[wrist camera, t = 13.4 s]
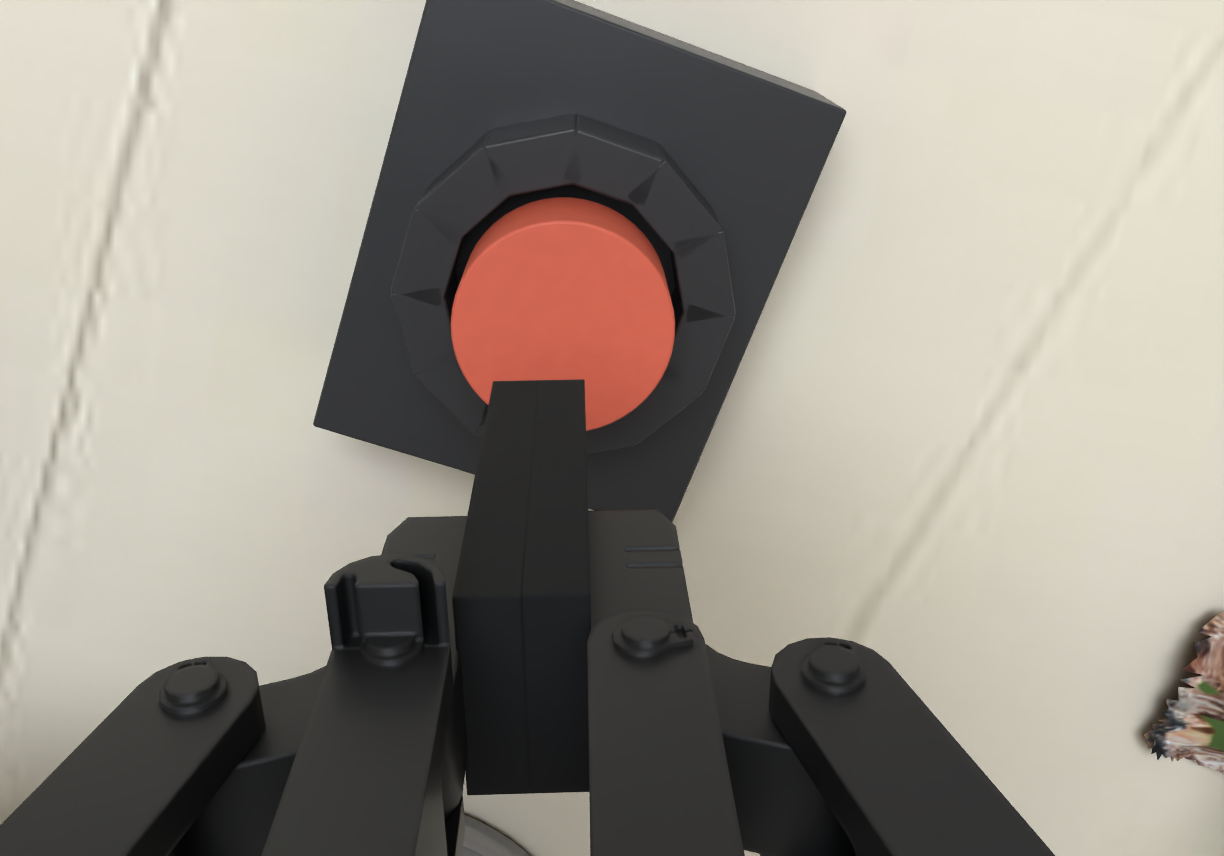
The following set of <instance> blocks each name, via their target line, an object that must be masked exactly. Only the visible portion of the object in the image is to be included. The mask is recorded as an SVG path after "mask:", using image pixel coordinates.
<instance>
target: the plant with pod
mask: <svg viewBox="0 0 1224 856" xmlns="http://www.w3.org/2000/svg"><path fill="white" fill-rule="evenodd" d="M1198 632H1199V633H1202V634H1205V635H1208V636H1211V638H1208V639H1205V640H1202V641H1199V642H1196V643H1193V645H1194V648H1195V651H1196V654H1197V658H1196V659H1195V660H1194V661H1192V662H1191V663H1190V664H1189V665H1188V666H1186V667H1185V668H1184V669H1183V670H1184V671H1189V672H1193V673H1197V674H1201V675H1203V676H1197V677H1192V678H1186V679H1180V680H1181V681H1183V682H1185V683H1187V684H1189V685H1191V686H1193V687H1194V688H1184V687H1178V695H1179V701H1177V700H1171V699H1166V702H1167V705H1168V708H1169V709H1168V710H1166V711H1164V712H1163V713H1164V714H1165V715H1166V716H1167V717H1168V718H1167V719H1163V720H1159V721H1160V722H1162V723H1164V724H1152V725H1153V728H1154V729H1152V730H1151V731H1149V732H1148V733H1146V734H1144V737H1145V739H1146V742H1147V745H1148V748H1152V753H1151V754H1153V753H1155V752H1156V754H1157V760H1158V759H1159V758H1160V756H1161V755H1162V754H1163V756H1164V757H1165V758H1167V757H1169V756H1171V760H1172V761H1173V758H1174V757H1175V758H1176V760H1177V761H1178V760H1180V759H1181V758H1183V757H1185V758H1186V759H1190V760H1196V762H1197V763H1198V765H1202V766H1207V767H1209V768H1212V769H1214V770H1217V771H1220V772H1222V773H1223V774H1224V613H1222V612H1220V613H1219V614H1218V615H1217V616H1215V617H1214V618H1213V619H1212V620H1210V621H1209V622H1208V623H1207V624H1206V625H1205V626H1204V627H1203V628H1201V629H1200V630H1199V631H1198Z"/></svg>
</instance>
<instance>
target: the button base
mask: <svg viewBox="0 0 1224 856" xmlns="http://www.w3.org/2000/svg"><path fill="white" fill-rule="evenodd" d="M845 115H846V110H845V109H843V108H841V107H840V106H838V105H837V104H835V103H833V102H832V101H830V100H828V99H827V98H825V97H824V96H822V95H820V94H819V93H817V92H815V91H813V90H810V89H808V88H805V87H802V86H800V85H797V84H794V83H792V82H789V81H786V80H784V79H781V78H779V77H776V76H773V75H771V74H768V73H765V72H763V71H760V70H757V69H755V68H752V67H749V66H747V65H744V64H741V63H739V62H736V61H733V60H731V59H728V58H725V57H723V56H720V55H717V54H715V53H712V52H709V51H707V50H704V49H702V48H699V47H696V46H694V45H691V44H688V43H686V42H683V41H680V40H678V39H675V38H672V37H670V36H667V35H664V34H662V33H659V32H656V31H654V30H651V29H648V28H646V27H643V26H640V25H638V24H635V23H632V22H630V21H627V20H625V19H622V18H619V17H617V16H614V15H611V14H609V13H606V12H603V11H601V10H598V9H595V8H593V7H590V6H587V5H585V4H582V3H579V2H577V1H574V0H426V4H425V8H424V11H423V15H422V19H421V22H420V26H419V30H418V34H417V37H416V41H415V45H414V49H413V52H412V56H411V60H410V64H409V67H408V71H407V75H406V79H405V82H404V86H403V90H402V94H401V97H400V101H399V105H398V109H397V112H396V116H395V120H394V123H393V127H392V131H391V135H390V138H389V142H388V146H387V150H386V153H385V157H384V161H383V165H382V168H381V172H380V176H379V180H378V183H377V187H376V191H375V195H374V198H373V202H372V206H371V209H370V213H369V217H368V221H367V224H366V228H365V232H364V236H363V239H362V243H361V247H360V251H359V254H358V258H357V262H356V266H355V269H354V273H353V277H352V281H351V284H350V288H349V292H348V295H347V299H346V303H345V307H344V310H343V314H342V318H341V322H340V325H339V329H338V333H337V337H336V340H335V344H334V348H333V352H332V355H331V359H330V363H329V367H328V370H327V374H326V378H325V381H324V385H323V389H322V393H321V396H320V400H319V404H318V408H317V411H316V415H315V419H314V423H313V424H314V426H316V427H319V428H322V429H326V430H329V431H332V432H336V433H339V434H342V435H346V436H349V437H352V438H356V439H359V440H362V441H366V442H369V443H372V444H376V445H379V446H382V447H385V448H389V449H392V450H395V451H399V452H402V453H405V454H409V455H412V456H415V457H419V458H422V459H425V460H429V461H432V462H435V463H439V464H442V465H445V466H449V467H452V468H455V469H459V470H462V471H465V472H469V473H472V474H475V473H476V468H477V463H478V458H479V452H480V447H481V442H482V436H483V431H484V426H485V421H486V415H487V410H488V404H486V403H485V402H484V401H483V400H482V399H481V398H480V397H479V396H478V395H477V393H476V392H475V391H474V390H473V389H472V387H471V386H470V384H469V383H468V381H467V380H466V378H465V377H464V375H463V373H462V371H461V369H460V367H459V365H458V362H457V359H456V356H455V353H454V349H453V343H452V338H451V315H452V307H453V303H454V298H455V295H456V292H457V289H458V286H459V284H460V281H461V278H462V275H463V273H464V270H465V267H466V264H467V262H468V259H469V257H470V254H471V253H472V251H473V249H474V247H475V245H476V244H477V242H478V241H479V240H480V238H481V237H482V236H483V234H484V233H485V232H486V231H487V230H488V229H489V228H490V227H491V226H492V225H493V224H494V223H495V222H496V221H498V220H499V219H500V218H501V217H503V216H504V215H505V214H507V213H509V212H511V211H512V210H514V209H516V208H518V207H520V206H523V205H525V204H528V203H530V202H534V201H538V200H542V199H548V198H556V197H571V198H579V199H585V200H589V201H593V202H596V203H600V204H602V205H604V206H607V207H609V208H611V209H613V210H615V211H617V212H618V213H620V214H622V215H623V216H625V217H626V218H627V219H628V220H630V221H631V222H632V223H634V224H635V225H636V226H637V227H638V228H639V229H640V230H641V231H642V232H643V233H644V235H645V236H646V237H647V239H648V240H649V241H650V243H651V244H652V246H653V247H654V249H655V251H656V253H657V255H658V256H659V259H660V261H661V264H662V267H663V269H664V273H665V277H666V281H667V285H668V289H669V293H670V297H671V301H672V305H673V309H674V318H675V339H674V344H673V350H672V354H671V357H670V360H669V363H668V366H667V368H666V370H665V372H664V374H663V376H662V378H661V380H660V381H659V383H658V384H657V386H656V387H655V389H654V390H653V391H652V392H651V394H650V395H649V396H648V397H647V398H646V399H645V400H644V401H643V402H642V403H641V404H640V405H639V406H638V407H637V408H635V409H634V410H633V411H631V412H630V413H628V414H627V415H625V416H624V417H622V418H620V419H618V420H616V421H614V422H613V423H610V424H608V425H605V426H602V427H600V428H596V429H592V430H588V431H586V450H587V488H588V509H592V510H595V511H601V510H645V509H658V510H659V511H660V512H661V513H662V514H663V515H665V516H666V517H667V518H668V519H669V520H670V521H671V522H673V520H674V517H675V515H676V513H677V510H678V508H679V506H680V503H681V501H682V499H683V496H684V494H685V492H686V489H687V487H688V485H689V482H690V480H691V477H692V475H693V473H694V470H695V468H696V466H697V463H698V461H699V459H700V456H701V454H702V452H703V449H704V447H705V444H706V442H707V440H708V437H709V435H710V433H711V430H712V428H713V426H714V423H715V421H716V419H717V416H718V414H719V412H720V409H721V407H722V404H723V402H724V400H725V397H726V395H727V393H728V390H729V388H730V386H731V383H732V381H733V379H734V376H735V374H736V371H737V369H738V367H739V364H740V362H741V360H742V357H743V355H744V353H745V350H746V348H747V346H748V343H749V341H750V339H751V336H752V334H753V331H754V329H755V327H756V324H757V322H758V320H759V317H760V315H761V313H762V310H763V308H764V306H765V303H766V301H767V298H768V296H769V294H770V291H771V289H772V287H773V284H774V282H775V280H776V277H777V275H778V273H779V270H780V268H781V266H782V263H783V261H784V258H785V256H786V254H787V251H788V249H789V247H790V244H791V242H792V240H793V237H794V235H795V233H796V230H797V228H798V225H799V223H800V221H801V218H802V216H803V214H804V211H805V209H806V207H807V204H808V202H809V200H810V197H811V195H812V193H813V190H814V188H815V185H816V183H817V181H818V178H819V176H820V174H821V171H822V169H823V167H824V164H825V162H826V160H827V157H828V155H829V152H830V150H831V148H832V145H833V143H834V141H835V138H836V136H837V134H838V131H839V129H840V127H841V124H842V122H843V120H844V117H845Z"/></svg>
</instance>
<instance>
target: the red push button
mask: <svg viewBox="0 0 1224 856" xmlns="http://www.w3.org/2000/svg"><path fill="white" fill-rule="evenodd" d="M451 338H452V343H453V349H454V353H455V356H456V359H457V362H458V365H459V367H460V369H461V371H462V373H463V375H464V377H465V378H466V380H467V381H468V383H469V384H470V386H471V387H472V389H473V390H474V391H475V392H476V393H477V395H478V396H479V397H480V398H481V399H482V400H483V401H484V402H485V403H486V404H488V405H489V400H490V394H491V389H492V384H493V381H526V380H578V379H585V412H586V431H588V430H592V429H596V428H600V427H602V426H605V425H608V424H610V423H613V422H614V421H616V420H618V419H620V418H622V417H624V416H625V415H627V414H628V413H630V412H631V411H633V410H634V409H635V408H637V407H638V406H639V405H640V404H641V403H642V402H643V401H644V400H645V399H646V398H647V397H648V396H649V395H650V394H651V392H652V391H653V390H654V389H655V387H656V386H657V384H658V383H659V381H660V380H661V378H662V376H663V374H664V372H665V370H666V368H667V366H668V363H669V360H670V357H671V354H672V350H673V344H674V339H675V318H674V309H673V305H672V301H671V297H670V293H669V289H668V285H667V281H666V277H665V273H664V269H663V267H662V264H661V261H660V259H659V256H658V255H657V253H656V251H655V249H654V247H653V246H652V244H651V243H650V241H649V240H648V239H647V237H646V236H645V235H644V233H643V232H642V231H641V230H640V229H639V228H638V227H637V226H636V225H635V224H634V223H632V222H631V221H630V220H628V219H627V218H626V217H625V216H623V215H622V214H620V213H618V212H617V211H615V210H613V209H611V208H609V207H607V206H604V205H602V204H600V203H596V202H593V201H589V200H585V199H579V198H571V197H556V198H548V199H542V200H538V201H534V202H530V203H528V204H525V205H523V206H520V207H518V208H516V209H514V210H512V211H511V212H509V213H507V214H505V215H504V216H503V217H501V218H500V219H499V220H498V221H496V222H495V223H494V224H493V225H492V226H491V227H490V228H489V229H488V230H487V231H486V232H485V233H484V234H483V236H482V237H481V238H480V240H479V241H478V242H477V244H476V245H475V247H474V249H473V251H472V253H471V254H470V257H469V259H468V262H467V264H466V267H465V270H464V273H463V275H462V278H461V281H460V284H459V286H458V289H457V292H456V295H455V298H454V303H453V307H452V315H451Z"/></svg>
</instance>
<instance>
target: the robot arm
mask: <svg viewBox="0 0 1224 856" xmlns="http://www.w3.org/2000/svg"><path fill="white" fill-rule="evenodd" d="M324 590H325V598H326V605H327V613H328V621H329V628H330V636H331V643H332V651H331V654H330V657H329V660H328V663H327V666H325V667H322V668H320V669H318V670H316V671H314V672H312V673H309V674H306V675H302V676H299V677H296V678H292V679H288V680H283V681H279V682H275V683H270V684H266V685H261V686H259V683H258V678H257V672H256V671H255V670H254V669H252V668H251V667H250V666H249V665H248V664H247V663H246V662H243V661H239V660H236V659H232V658H229V657H201V658H194V659H192V660H191V659H189V660H185V661H182V662H178V663H176V664H174V665H171V666H169V667H167V668H164V669H162V670H160V671H158V672H156V673H154V674H153V675H152V676H150V677H149V678H148V679H146V680H145V681H144V682H142V683H141V684H140V685H138V686H137V687H136V688H135V689H134V690H133V691H132V692H131V693H130V694H129V695H128V696H127V697H126V698H125V699H124V700H123V701H122V702H121V703H120V705H119V706H118V707H117V708H116V709H115V710H114V711H113V712H112V713H111V714H110V715H109V716H108V717H107V718H106V719H105V720H104V721H103V722H102V723H101V724H100V725H99V726H98V727H97V728H96V729H95V730H94V731H93V732H92V733H91V734H90V735H89V736H88V737H87V738H86V739H85V740H84V741H83V742H82V743H81V744H80V745H79V746H78V747H77V748H76V749H75V750H74V751H73V752H72V753H71V754H70V755H69V756H68V757H67V758H66V759H65V760H64V761H63V762H62V763H61V764H60V765H59V766H58V767H57V768H56V769H55V770H54V771H53V773H52V774H51V775H50V776H49V777H48V778H47V779H46V780H45V781H44V782H43V783H42V784H41V785H40V786H39V787H38V788H37V789H36V790H35V791H34V792H33V793H32V794H31V795H30V796H29V797H28V798H27V799H26V800H25V801H24V802H23V803H22V804H21V805H20V806H19V807H18V808H17V809H16V810H15V811H14V812H13V813H12V814H11V815H10V816H9V817H8V818H7V819H6V820H5V821H4V822H3V823H2V824H1V825H0V856H530V855H528V854H527V853H526V852H525V851H524V850H523V849H522V848H520V847H519V846H518V845H516V844H515V843H514V842H513V841H511V840H510V839H509V838H507V837H505V836H504V835H502V834H501V833H499V832H498V831H496V830H494V829H493V828H491V827H489V826H487V825H485V824H483V823H481V822H479V821H478V820H476V819H473V818H471V817H469V816H466V815H464V808H463V796H462V792H463V784H464V777H465V771H466V784H467V795H491V794H525V793H560V792H590V851H591V856H745V855H744V850H747V851H751V852H756V853H760V856H1055V855H1054V854H1053V853H1052V851H1051V850H1050V849H1049V848H1048V847H1047V846H1046V844H1045V843H1044V842H1043V841H1042V840H1041V839H1040V837H1039V836H1038V835H1037V834H1036V833H1035V832H1034V830H1033V829H1032V828H1031V827H1030V826H1029V825H1028V823H1027V822H1026V821H1025V820H1024V819H1023V818H1022V817H1021V815H1020V814H1019V813H1018V812H1017V811H1016V810H1015V808H1014V807H1013V806H1012V805H1011V804H1010V803H1009V801H1008V800H1007V799H1006V798H1005V797H1004V796H1003V794H1002V793H1001V792H1000V791H999V790H998V789H997V787H996V786H995V785H994V784H993V783H992V782H991V780H990V779H989V778H988V777H987V776H986V775H985V774H984V772H983V771H982V770H981V769H980V768H979V767H978V765H977V764H976V763H975V762H974V761H973V760H972V758H971V757H970V756H969V755H968V754H967V753H966V751H965V750H964V749H963V748H962V747H961V746H960V744H959V743H958V742H957V741H956V740H955V739H954V737H953V736H952V735H951V734H950V733H949V732H948V731H947V729H946V728H945V727H944V726H943V725H942V724H941V722H940V721H939V720H938V719H937V718H936V717H935V715H934V714H933V713H932V712H931V711H930V710H929V708H928V707H927V706H926V705H925V704H924V703H923V701H922V700H921V699H920V698H919V697H918V696H917V694H916V693H915V692H914V691H913V690H912V689H911V688H910V686H909V685H908V684H907V683H906V682H905V681H904V679H903V678H902V677H901V676H900V675H899V674H898V672H897V671H896V670H895V669H894V668H893V667H892V665H891V664H890V663H889V662H888V661H887V660H885V659H884V658H883V657H882V656H880V655H879V654H878V653H877V652H875V651H874V650H872V649H870V648H867V647H865V646H863V645H860V644H858V643H855V642H853V641H847V640H843V639H837V638H809V639H804V640H801V641H798V642H795V643H792V644H789V645H787V646H786V647H785V648H784V649H782V650H781V651H780V652H779V653H777V654H776V655H775V658H774V661H773V664H772V667H767V666H762V665H756V664H750V663H746V662H743V661H739V660H735V659H732V658H729V657H727V656H725V655H722V654H720V653H718V652H716V651H715V650H713V649H712V648H710V647H709V646H708V645H706V644H705V641H704V638H703V636H702V634H701V632H700V630H699V628H698V626H696V625H695V624H694V623H693V619H692V614H691V608H690V603H689V597H688V592H687V586H686V580H685V575H684V569H683V567H682V558H681V553H680V550H679V541H678V536H677V530H676V526H675V525H674V524H673V523H672V522H671V521H670V520H669V519H668V518H667V517H666V516H665V515H663V514H662V513H661V512H660V511H659V510H658V509H645V510H601V511H588V488H587V450H586V412H585V379H578V380H526V381H493V384H492V389H491V394H490V400H489V405H488V410H487V415H486V421H485V426H484V431H483V436H482V442H481V447H480V452H479V458H478V463H477V468H476V473H475V479H474V484H473V489H472V495H471V500H470V505H469V510H468V516H451V517H408V518H407V519H406V520H405V521H403V522H402V523H401V524H400V525H399V526H398V527H397V528H396V529H394V530H393V531H392V532H391V533H390V534H389V535H388V536H387V539H386V542H385V545H384V548H383V551H382V554H381V555H380V556H371V557H368V558H365V559H362V560H359V561H356V562H353V563H350V564H348V565H346V566H345V567H343V568H341V569H340V570H338V571H337V572H335V573H333V574H332V576H331V577H330V578H329V580H328V581H327V582H326V584H325V585H324Z"/></svg>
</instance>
